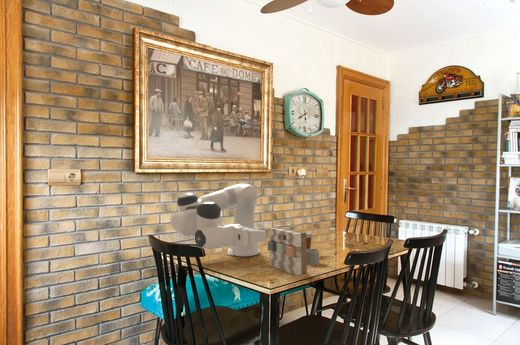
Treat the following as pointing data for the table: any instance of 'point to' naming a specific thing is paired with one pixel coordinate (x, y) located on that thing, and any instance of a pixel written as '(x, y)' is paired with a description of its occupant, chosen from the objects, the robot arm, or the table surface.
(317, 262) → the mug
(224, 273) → the table surface
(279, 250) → the sage key
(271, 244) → the charcoal key
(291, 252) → the terracotta key
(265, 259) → the table surface
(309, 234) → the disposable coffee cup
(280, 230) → the keypad panel
